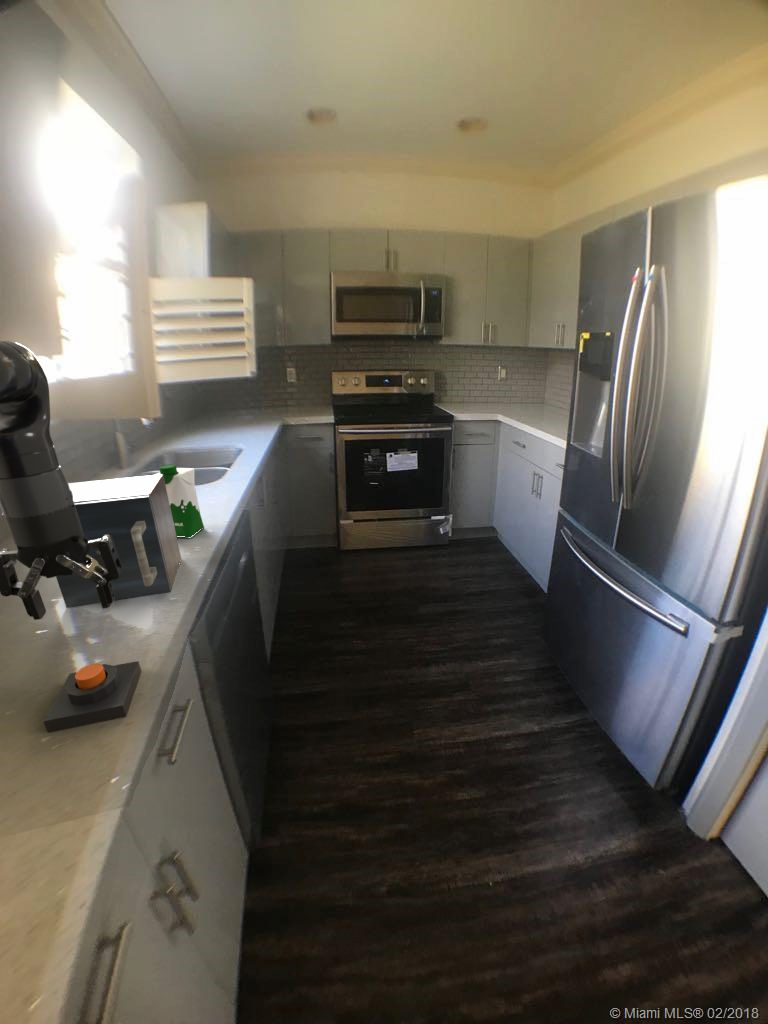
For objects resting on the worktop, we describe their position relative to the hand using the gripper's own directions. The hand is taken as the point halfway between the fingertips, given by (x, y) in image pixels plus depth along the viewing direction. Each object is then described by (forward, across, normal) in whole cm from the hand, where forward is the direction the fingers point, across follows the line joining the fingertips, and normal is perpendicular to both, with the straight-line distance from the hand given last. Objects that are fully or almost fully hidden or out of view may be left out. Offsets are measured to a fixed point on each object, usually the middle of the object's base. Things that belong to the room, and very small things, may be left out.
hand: (75, 610), depth 65 cm
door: (+15, -4, +27) cm, 31 cm away
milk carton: (+15, +5, +63) cm, 65 cm away
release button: (+11, 0, -1) cm, 11 cm away
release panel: (+15, 0, -1) cm, 15 cm away
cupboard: (+15, -4, +38) cm, 41 cm away
